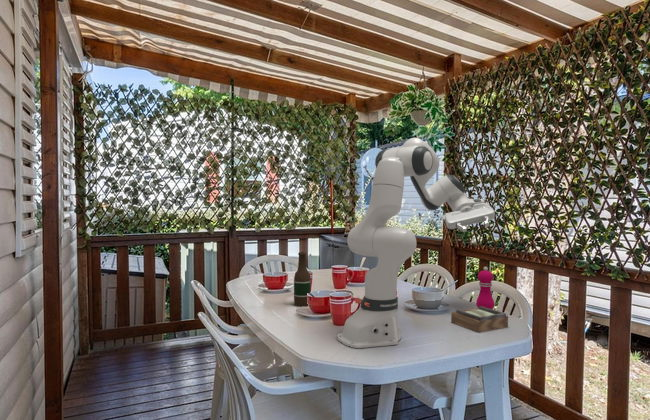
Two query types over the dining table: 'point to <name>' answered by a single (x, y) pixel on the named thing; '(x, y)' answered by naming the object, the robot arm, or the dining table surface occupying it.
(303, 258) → the beer bottle
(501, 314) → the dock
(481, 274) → the pepper mill
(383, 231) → the robot arm
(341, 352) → the dining table surface
